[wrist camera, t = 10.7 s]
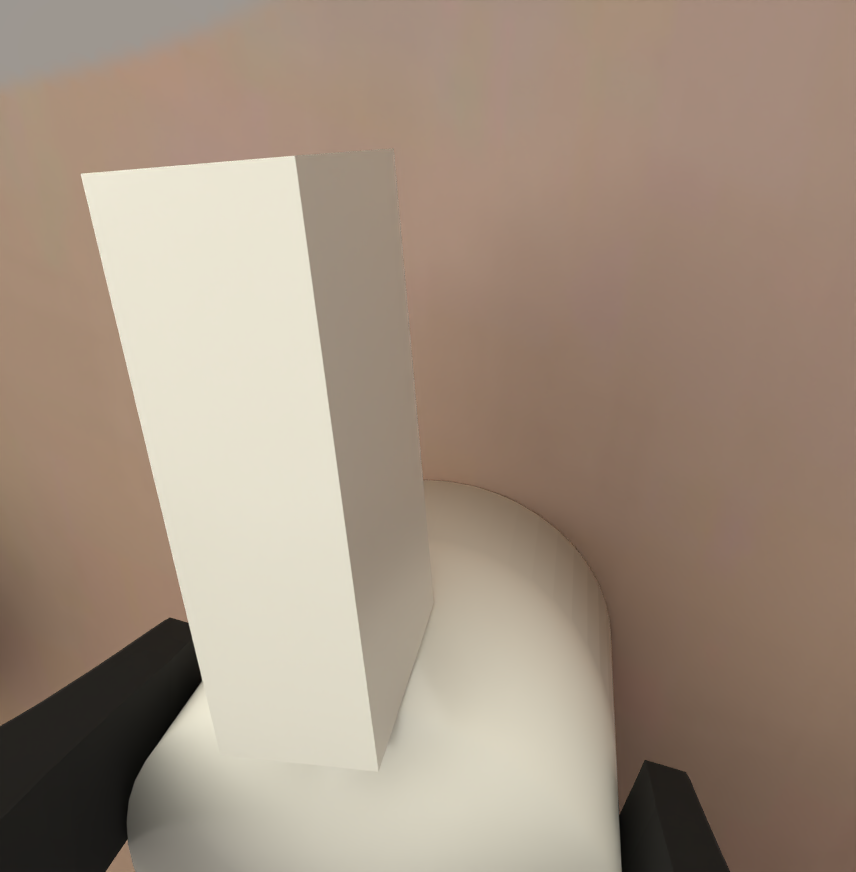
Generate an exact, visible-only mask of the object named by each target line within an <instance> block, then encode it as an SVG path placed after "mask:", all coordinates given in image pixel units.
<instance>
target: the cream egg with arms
mask: <svg viewBox="0 0 856 872" xmlns="http://www.w3.org/2000/svg"><path fill="white" fill-rule="evenodd" d="M81 177H82V181H83V185H84V190H85V194H86V198H87V202H88V206H89V210H90V215H91V219H92V223H93V227H94V231H95V235H96V240H97V244H98V248H99V252H100V256H101V260H102V264H103V269H104V273H105V277H106V281H107V285H108V289H109V294H110V298H111V302H112V306H113V310H114V314H115V319H116V323H117V327H118V331H119V335H120V339H121V344H122V348H123V352H124V356H125V360H126V364H127V369H128V373H129V377H130V381H131V385H132V389H133V393H134V398H135V402H136V406H137V410H138V414H139V418H140V423H141V427H142V431H143V435H144V439H145V443H146V448H147V452H148V456H149V460H150V464H151V468H152V473H153V477H154V481H155V485H156V489H157V493H158V498H159V502H160V506H161V510H162V514H163V518H164V523H165V527H166V531H167V535H168V539H169V543H170V547H171V552H172V556H173V560H174V564H175V568H176V572H177V577H178V581H179V585H180V589H181V593H182V597H183V602H184V606H185V610H186V614H187V618H188V622H189V627H190V631H191V635H192V639H193V643H194V647H195V652H196V656H197V660H198V664H199V668H200V672H201V676H202V682H201V683H200V685H199V686H198V687H197V689H196V690H195V692H194V693H193V695H192V696H191V697H190V699H189V700H188V702H187V703H186V704H185V706H184V707H183V709H182V710H181V712H180V713H179V714H178V716H177V717H176V719H175V720H174V721H173V723H172V724H171V726H170V727H169V729H168V730H167V731H166V733H165V734H164V736H163V737H162V739H161V740H160V741H159V743H158V744H157V746H156V747H155V748H154V750H153V751H152V753H151V754H150V756H149V757H148V758H147V760H146V761H145V763H144V765H143V767H142V769H141V770H140V772H139V774H138V776H137V778H136V780H135V782H134V785H133V789H132V792H131V795H130V799H129V803H128V813H127V835H128V846H129V850H130V854H131V858H132V862H133V866H134V869H135V871H136V872H622V866H621V844H620V823H619V802H618V780H617V759H616V737H615V716H614V695H613V673H612V652H611V633H610V620H609V615H608V611H607V606H606V602H605V599H604V597H603V594H602V591H601V589H600V586H599V584H598V582H597V580H596V578H595V576H594V575H593V573H592V571H591V569H590V567H589V566H588V564H587V563H586V561H585V560H584V559H583V557H582V556H581V555H580V554H579V552H578V551H577V550H576V548H575V547H574V546H573V545H572V544H571V543H570V542H569V541H568V540H567V539H566V538H565V537H564V536H563V535H562V534H561V533H560V532H559V531H558V530H557V529H556V528H554V527H553V526H552V525H551V524H549V523H548V522H547V521H546V520H544V519H543V518H542V517H540V516H539V515H537V514H536V513H534V512H532V511H531V510H529V509H527V508H526V507H524V506H522V505H521V504H519V503H517V502H515V501H512V500H510V499H508V498H506V497H504V496H501V495H499V494H497V493H494V492H491V491H488V490H484V489H481V488H478V487H475V486H470V485H465V484H460V483H455V482H448V481H435V480H423V474H422V463H421V452H420V441H419V429H418V418H417V407H416V395H415V384H414V373H413V361H412V350H411V339H410V328H409V316H408V305H407V294H406V282H405V271H404V260H403V249H402V237H401V226H400V215H399V203H398V192H397V181H396V170H395V158H394V149H380V150H367V151H353V152H340V153H326V154H313V155H299V156H287V157H275V158H263V159H251V160H240V161H228V162H216V163H204V164H192V165H180V166H169V167H157V168H145V169H133V170H121V171H109V172H98V173H86V174H81Z"/></svg>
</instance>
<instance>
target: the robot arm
mask: <svg viewBox="0 0 856 872" xmlns="http://www.w3.org/2000/svg"><path fill="white" fill-rule="evenodd" d="M201 682H202V676H201V672H200V668H199V664H198V660H197V656H196V652H195V647H194V643H193V639H192V635H191V631H190V627H189V623H186V622H183V621H180V620H176V619H173V618H168V619H167V620H165V621H163V622H161V623H160V624H158V625H157V626H156V627H154V628H153V629H151V630H150V631H148V632H147V633H145V634H144V635H142V636H141V637H139V638H138V639H136V640H135V641H134V642H132V643H131V644H129V645H128V646H126V647H125V648H123V649H122V650H120V651H119V652H117V653H116V654H114V655H113V656H112V657H110V658H109V659H107V660H106V661H104V662H103V663H101V664H100V665H98V666H97V667H95V668H94V669H92V670H91V671H89V672H88V673H86V674H84V675H83V676H81V677H80V678H78V679H77V680H75V681H73V682H72V683H70V684H69V685H67V686H66V687H64V688H63V689H61V690H59V691H58V692H56V693H55V694H53V695H52V696H50V697H48V698H47V699H45V700H44V701H42V702H41V703H39V704H37V705H36V706H34V707H32V708H31V709H29V710H27V711H26V712H24V713H22V714H20V715H19V716H17V717H15V718H14V719H12V720H10V721H8V722H7V723H5V724H3V725H2V726H0V872H106V870H107V869H108V867H109V866H110V864H111V863H112V861H113V860H114V858H115V857H116V855H117V854H118V852H119V851H120V850H121V848H122V847H123V845H124V844H125V842H126V841H127V839H128V835H127V813H128V803H129V799H130V795H131V792H132V789H133V785H134V782H135V780H136V778H137V776H138V774H139V772H140V770H141V769H142V767H143V765H144V763H145V761H146V760H147V758H148V757H149V756H150V754H151V753H152V751H153V750H154V748H155V747H156V746H157V744H158V743H159V741H160V740H161V739H162V737H163V736H164V734H165V733H166V731H167V730H168V729H169V727H170V726H171V724H172V723H173V721H174V720H175V719H176V717H177V716H178V714H179V713H180V712H181V710H182V709H183V707H184V706H185V704H186V703H187V702H188V700H189V699H190V697H191V696H192V695H193V693H194V692H195V690H196V689H197V687H198V686H199V685H200V683H201ZM619 823H620V844H621V866H622V872H730V871H729V868H728V866H727V864H726V862H725V859H724V857H723V855H722V853H721V850H720V848H719V846H718V844H717V842H716V839H715V837H714V835H713V832H712V830H711V828H710V825H709V823H708V821H707V818H706V816H705V814H704V811H703V809H702V807H701V804H700V802H699V800H698V797H697V795H696V793H695V790H694V788H693V785H692V783H691V781H690V779H689V777H688V775H687V774H686V772H684V771H680V770H677V769H674V768H670V767H667V766H664V765H660V764H657V763H654V762H650V761H647V760H645V761H644V763H643V765H642V768H641V770H640V772H639V774H638V776H637V778H636V781H635V783H634V785H633V787H632V789H631V791H630V794H629V796H628V798H627V800H626V802H625V805H624V807H623V809H622V811H621V813H620V815H619Z"/></svg>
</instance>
